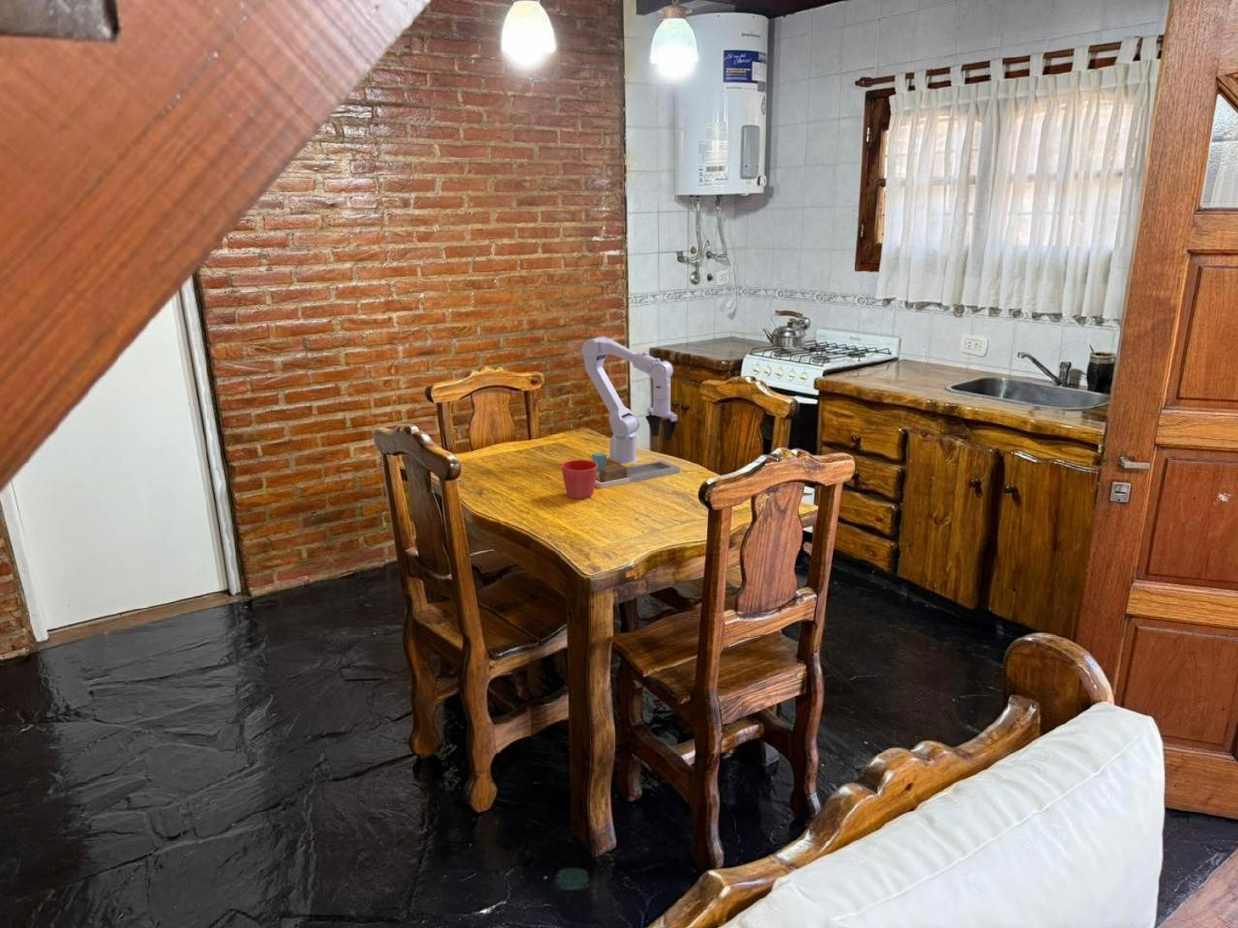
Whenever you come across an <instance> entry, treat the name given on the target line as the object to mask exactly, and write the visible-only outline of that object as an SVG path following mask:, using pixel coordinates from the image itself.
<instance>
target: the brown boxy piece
mask: <svg viewBox="0 0 1238 928" xmlns="http://www.w3.org/2000/svg"><path fill="white" fill-rule="evenodd" d="M598 479H599V481H598V482H600V483H603V482H608V481H613V480H617V470H616V469H614V468H612V467H610V466H607V467H606V468H601V469H599V478H598Z"/></svg>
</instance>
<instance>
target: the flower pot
mask: <svg viewBox="0 0 1238 928" xmlns="http://www.w3.org/2000/svg"><path fill="white" fill-rule="evenodd" d="M597 467H598V465H597V464H596V463H595V462H592V460H587V459H574V460H573V459H572V460H569V461H568V460H567V461H565V462H564V463H562V464H561V473H562V477H563V481H564V486H565V490H566V494H567V497H568V498H570V499H573V500H587V499H589V498H591V497H592V496H593V494H594V489H595V480H596V479H597V478H596V474H597ZM596 481H597V480H596Z"/></svg>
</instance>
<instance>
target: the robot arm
mask: <svg viewBox="0 0 1238 928" xmlns="http://www.w3.org/2000/svg"><path fill="white" fill-rule="evenodd" d="M580 350H581V351H580V353H581V354H582V356H583V359H584V360H583V361H584V368H585V371H586V374H587V375H588V377H589V378H590V380H591V382H592V384H593V385H594V387H595V389H596V391H597V393H598V395H599V396H600V398H601V400H602V402H603V404H604V405H605V407H606V408H607V410H608V413H609V419H608V421H609V424H610V426H611V431H612V434H613V435H612V436H611V438H610V440H609V456H607V460H611V461H614V462H615V463H617V464H619V465H627V464H631V463H632V464H633V463H637V462H641V461H642V460H641V459H640V458H639V459H638V458H637V431H638V430H639V429H640V420H639V418H638V416H636V415H635V414H633V412H632V411H631V410H630V409H629V408H627V407H626V406H625V404H624V403H623V401H622V400H621V398H620V397H619V394H618V392H617V390H616V389H615V387H614V385H613V384H612V382H611V380H610V379H609V376H608V375H607V374H608V373H607V372H606V371H605V369H604V367H603V365H604V362H605V359H607V358H606V357H607V356H609V355H613V356H615V357H617V358H620V359H623V360H624V361H627V362H630V363H632V366H633V367H634V368H635V369H636V370H639V371H640V372H642V373H644V374H647V375H648V376H650V377H651V380H652V385H653V386H652V390H653V392H652V394H653V396H652V399H653V400H652V407H646V414H648V415H645V419H646V421H647V423H648V425H649V429H650V432H651V435H652V437H658V436H659V434H660V424H662V427H663V433H664V441H665V442H669V441H672V439H673V435H674V432H675V429H676V427H677V426H678V424H679V420H678V415H677V414H676V413H674V412H673V411H671V393H672V391H671V387H672V386H671V377H672V376H673V374H674V366H673V364H671V362H669V361H668V360H662V361H661V358H658V357H657V358H655V357H653V356H651V355H650V354H649V352H647V351H640V352H635V351H633V350H631V349H629V348H628V347H626V346H624V345H622V344H620V343H618V342H616V341H615V340H614V339H613V338H608V337H607V336H604V335H602V336H598V337H595V338H589V339H586V340H585V341H584V343H583V344H582V347H581V349H580ZM662 418H663V419H664V420H662Z"/></svg>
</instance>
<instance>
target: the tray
mask: <svg viewBox="0 0 1238 928" xmlns="http://www.w3.org/2000/svg"><path fill="white" fill-rule="evenodd" d="M596 479H599V473H597V474H596ZM624 484H631V482H630V478H629V477H628V478H623V479H618V480H613V481H608V482H601V481H598V480H595V485H594V487H596V488H599V489H606V488H610V487H614V486H620V485H624Z"/></svg>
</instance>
